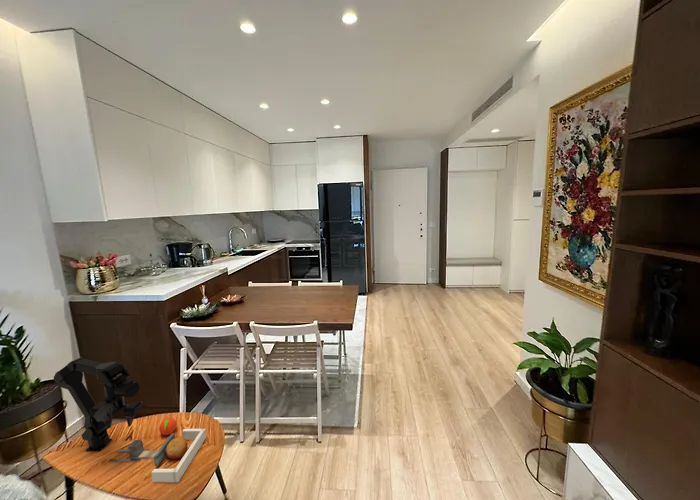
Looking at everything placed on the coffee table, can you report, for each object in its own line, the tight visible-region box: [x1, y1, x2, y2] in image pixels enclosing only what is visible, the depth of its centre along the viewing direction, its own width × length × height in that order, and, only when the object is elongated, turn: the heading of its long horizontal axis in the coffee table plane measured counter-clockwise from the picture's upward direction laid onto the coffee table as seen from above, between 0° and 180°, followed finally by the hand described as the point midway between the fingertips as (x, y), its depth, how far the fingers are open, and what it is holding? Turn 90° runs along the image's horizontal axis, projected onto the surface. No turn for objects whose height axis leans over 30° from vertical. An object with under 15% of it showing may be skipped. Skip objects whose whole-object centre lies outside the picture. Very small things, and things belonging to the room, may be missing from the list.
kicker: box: [127, 432, 176, 467], centre depth 123 cm, size 15×12×6 cm
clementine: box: [158, 417, 177, 436], centre depth 135 cm, size 8×7×7 cm
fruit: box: [165, 436, 188, 460], centre depth 124 cm, size 8×8×8 cm
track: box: [107, 448, 150, 463], centre depth 124 cm, size 13×6×1 cm, turn 90°
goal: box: [151, 428, 207, 483], centre depth 122 cm, size 10×22×4 cm, turn 0°
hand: (119, 426), depth 125 cm, fingers open, 9 cm apart
